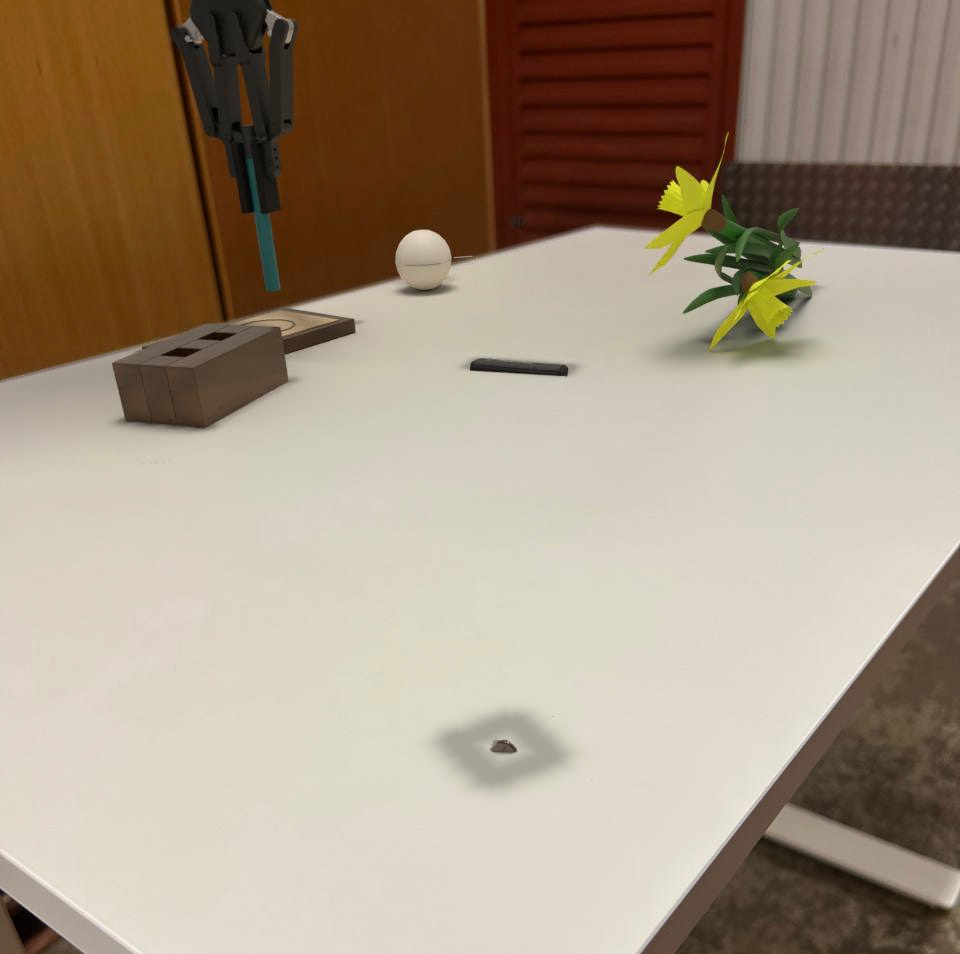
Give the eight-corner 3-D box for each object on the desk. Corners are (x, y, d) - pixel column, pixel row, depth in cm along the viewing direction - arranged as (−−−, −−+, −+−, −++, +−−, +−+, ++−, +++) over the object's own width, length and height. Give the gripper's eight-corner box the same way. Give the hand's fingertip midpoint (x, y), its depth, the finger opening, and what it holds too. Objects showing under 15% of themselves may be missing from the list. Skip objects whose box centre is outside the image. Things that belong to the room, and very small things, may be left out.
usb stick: (571, 377, 93) (571, 361, 92) (561, 385, 91) (561, 368, 90) (479, 370, 96) (478, 354, 96) (468, 377, 94) (467, 361, 94)
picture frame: (213, 376, 99) (210, 359, 98) (144, 360, 106) (140, 344, 105) (356, 332, 112) (354, 317, 111) (286, 320, 119) (284, 306, 118)
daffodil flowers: (879, 309, 113) (821, 284, 83) (759, 370, 120) (667, 367, 91) (821, 172, 112) (742, 97, 83) (705, 242, 120) (594, 196, 91)
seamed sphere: (390, 295, 128) (384, 235, 124) (407, 283, 134) (402, 225, 130) (464, 295, 126) (461, 234, 122) (479, 283, 132) (476, 224, 128)
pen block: (127, 432, 86) (111, 362, 82) (217, 386, 96) (205, 323, 93) (207, 439, 83) (193, 368, 80) (290, 391, 94) (280, 326, 91)
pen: (262, 291, 108) (236, 126, 99) (270, 288, 109) (245, 124, 101) (276, 291, 107) (250, 125, 99) (284, 288, 108) (259, 124, 100)
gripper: (308, -67, 92) (340, 206, 105) (177, -53, 97) (222, 206, 109) (266, -73, 86) (304, 217, 99) (129, -58, 91) (182, 217, 103)
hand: (261, 211), depth 104 cm, fingers closed on pen, 2 cm apart
